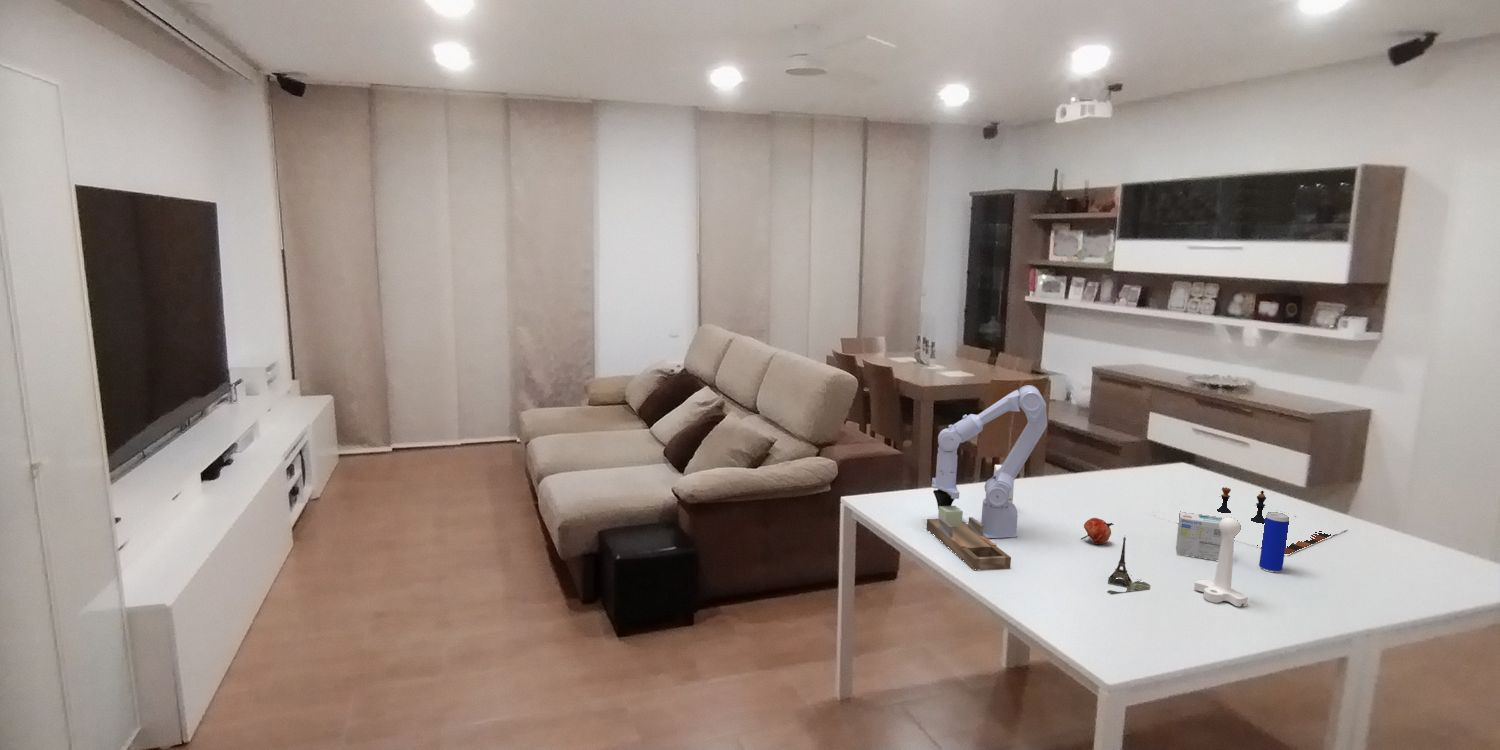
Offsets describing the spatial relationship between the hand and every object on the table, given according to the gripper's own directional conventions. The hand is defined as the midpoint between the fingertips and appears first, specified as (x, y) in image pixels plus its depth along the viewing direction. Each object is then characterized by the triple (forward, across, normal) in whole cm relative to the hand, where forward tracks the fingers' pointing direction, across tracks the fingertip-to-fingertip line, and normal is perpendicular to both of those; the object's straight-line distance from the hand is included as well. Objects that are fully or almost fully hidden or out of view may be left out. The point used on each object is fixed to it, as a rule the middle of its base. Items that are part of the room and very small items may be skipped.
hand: (943, 515), depth 237 cm
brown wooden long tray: (+4, +15, 0) cm, 16 cm away
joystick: (+4, +54, +46) cm, 71 cm away
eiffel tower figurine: (+5, +43, +28) cm, 51 cm away
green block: (+1, +4, 0) cm, 5 cm away
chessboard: (+5, +6, +97) cm, 97 cm away
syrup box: (+4, -12, +25) cm, 28 cm away
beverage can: (+4, +40, +74) cm, 84 cm away
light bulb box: (+4, +28, +62) cm, 68 cm away
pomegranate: (+4, +16, +39) cm, 42 cm away
